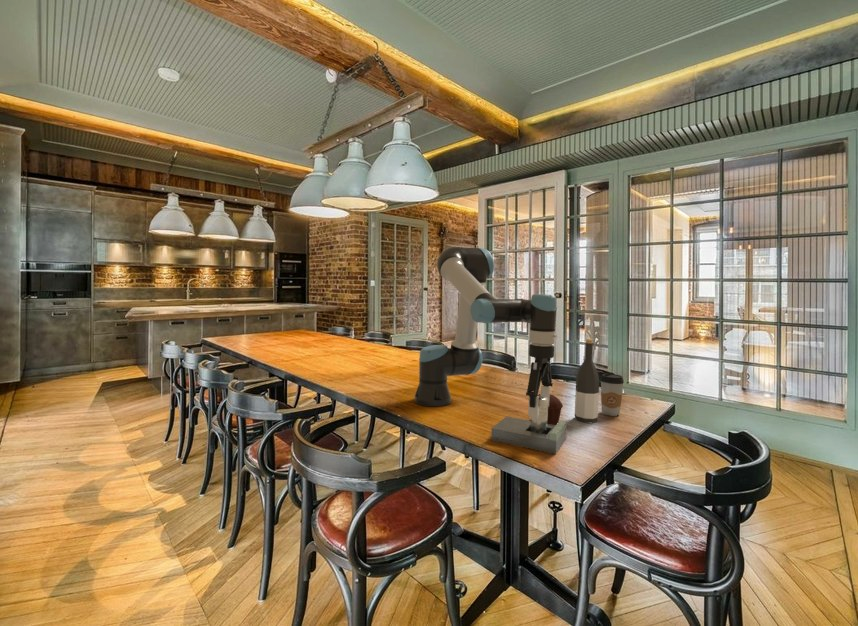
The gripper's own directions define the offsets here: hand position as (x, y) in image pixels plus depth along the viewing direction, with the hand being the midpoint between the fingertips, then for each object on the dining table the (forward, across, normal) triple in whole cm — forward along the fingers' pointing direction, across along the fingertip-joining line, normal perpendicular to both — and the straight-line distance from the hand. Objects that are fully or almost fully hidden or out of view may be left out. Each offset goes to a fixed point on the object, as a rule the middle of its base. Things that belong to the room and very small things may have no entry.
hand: (538, 411), depth 129 cm
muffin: (+10, +21, +3) cm, 23 cm away
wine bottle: (+10, +32, -9) cm, 35 cm away
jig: (+10, 0, +3) cm, 10 cm away
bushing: (+10, 0, 0) cm, 10 cm away
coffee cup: (+10, +45, -16) cm, 49 cm away
